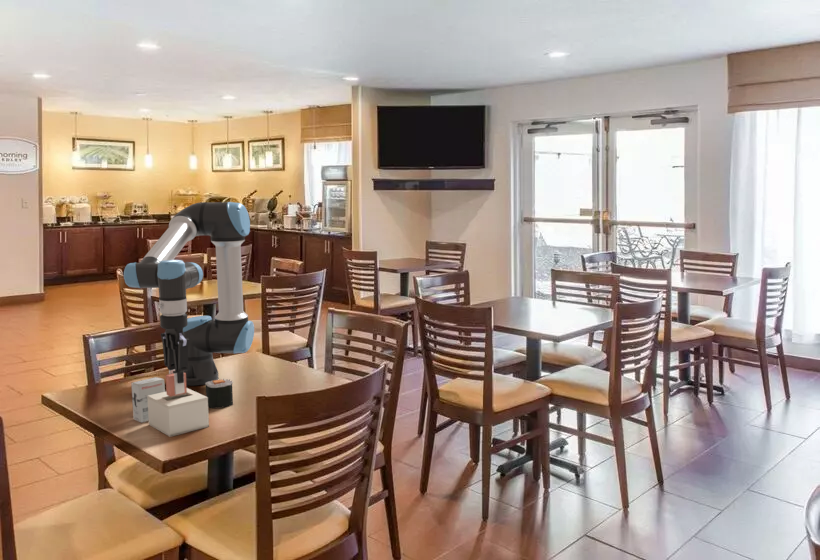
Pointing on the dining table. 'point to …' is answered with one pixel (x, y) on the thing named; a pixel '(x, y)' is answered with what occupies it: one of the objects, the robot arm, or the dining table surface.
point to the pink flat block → (170, 385)
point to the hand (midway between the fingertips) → (177, 392)
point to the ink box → (144, 396)
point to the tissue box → (178, 412)
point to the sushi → (219, 393)
